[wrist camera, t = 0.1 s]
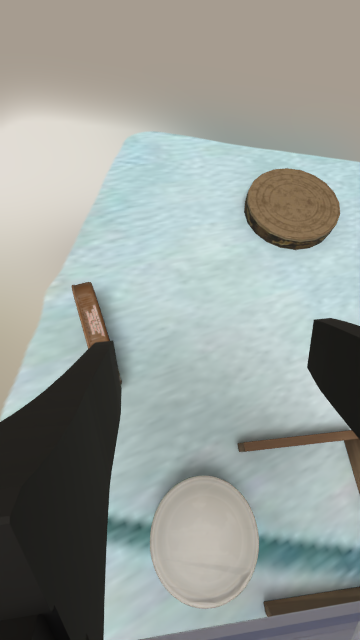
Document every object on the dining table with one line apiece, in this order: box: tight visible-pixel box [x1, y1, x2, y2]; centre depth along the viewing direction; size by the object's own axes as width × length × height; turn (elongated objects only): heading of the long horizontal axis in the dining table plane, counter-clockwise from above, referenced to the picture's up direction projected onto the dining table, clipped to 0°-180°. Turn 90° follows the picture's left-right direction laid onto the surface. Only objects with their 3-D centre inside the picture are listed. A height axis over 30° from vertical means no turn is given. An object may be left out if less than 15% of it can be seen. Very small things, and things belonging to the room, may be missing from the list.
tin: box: [72, 282, 122, 384], centre depth 41 cm, size 15×3×8 cm, turn 21°
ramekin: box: [150, 476, 259, 609], centre depth 34 cm, size 11×11×5 cm
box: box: [238, 430, 360, 617], centre depth 35 cm, size 17×15×4 cm
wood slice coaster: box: [244, 168, 340, 250], centre depth 55 cm, size 16×16×3 cm
